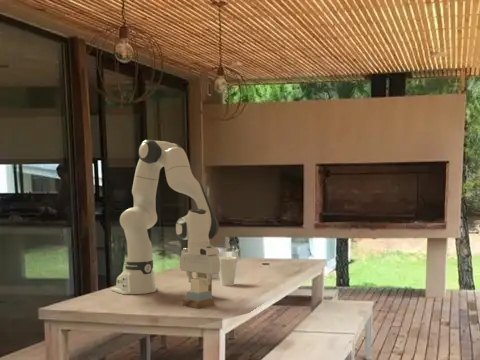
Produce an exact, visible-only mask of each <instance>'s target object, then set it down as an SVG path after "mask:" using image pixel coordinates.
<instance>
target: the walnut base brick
mask: <svg viewBox="0 0 480 360" xmlns="http://www.w3.org/2000/svg"><path fill="white" fill-rule="evenodd" d="M182 306H183V307H186V308H187V307H188V308H193V309H203V308H207V307H210V306H215V298H213V297H211V299H208V300H204V301H193V300H187V298H184V299H182Z"/></svg>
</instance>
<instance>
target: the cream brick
mask: <svg viewBox="0 0 480 360" xmlns="http://www.w3.org/2000/svg"><path fill="white" fill-rule="evenodd" d="M193 278H194V277H193ZM205 280H206V278H194V279H191V283H190V291H191V292H196V293H202V292H207V291H208V285H205Z"/></svg>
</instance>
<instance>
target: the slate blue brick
mask: <svg viewBox="0 0 480 360" xmlns="http://www.w3.org/2000/svg"><path fill="white" fill-rule="evenodd" d="M211 298H212V297H211V291H207V292H202V293H196V292H191V290H190V291H186V299H187V300H193V301H204V300H208V299H211Z"/></svg>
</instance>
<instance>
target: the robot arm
mask: <svg viewBox="0 0 480 360" xmlns="http://www.w3.org/2000/svg"><path fill="white" fill-rule="evenodd" d="M138 147H139V148H138V157H139V159H138V161H137V165H136V167H135V171H134V172H135V173H134V177H133V184H132V187H131V188H132V189H131V194H132V197H133V207H128V209H125V210H124V211H123V212H122V213H121V214H120V216H119V224H120V226H121V228H122V229H123V231H124V235H125V240H126V244H127V245H126V247H127V248H126V249H127V261H126V262H125V261H124V266H125V269H124V270H123V271H122V272H121V273H120V274H119V275H118V276H117V277H116V283H115V285H116V286H114V287H111V289H110V291H112V292H115V293H118V294H122V295H141V294H142V295H143V294H149V293H154V292H156V291H157V289H158V286H157V285H156V277H155V272H154V270H153V268H154V260H153V249H152V248H153V243H152V241H151V240H150V237H149V232H148V230H149V229H152V227H154V226H155V224H156V223H157V222H158V214H157V210H156V208H157V207H156V204H157V203H156V201H157V199H156V198H157V197H156V196H157V191H158V190H157V189H158V183H159V179H160V172H161V170H162V168H163V167H164V172H165V173H164V174H165V177H166V178H165V179H166V182H167V184H168V186H169V187H170V189H172V190H173V191H175V192H177V193H180V194H183V195H186V196H188V197H189V198H191V199H193V200H194V202H195V204H196V206H197V208H191V209H189V210H188V212H187V214H186V215H184V216H183V217H179V218H178V220H177V221H176V222H175V224H174V225H175V226H174V227H175V229H174V230H175V236H177V238H179V239H180V240H183V241H184V240H185V241H187V247H184V248H183V249H181V251H180V258H179V269H180V271H184V272H185V273H186V276H187V278H188V283H190V284H191V279H194V277H193V275H192V274H193V273H196V272H197V273H204V274H206V276H207V279H206V280H205V285H210V280H211V278H212V279H213V275H219V271H220V261H219V257H220V256H219V253H220V249H219V248H217V247H215V246H213V245H212V244H210V242H211V241H210V240H213V239H214V238H215V237H216V236H217V234H218V233H219V230H220V225H219V222H218V220H217V218H216V216H215V215H214V212H213V210H212V208H211V207H212V206H211V205H210V204H211V203H210V202H209V200H208V199H209V198H208V197H207V194H206V192H205V188H203V185H202V183H201V182H199V181H198V180H197V179H196V178H195V177H194V174H193V173H192V169H191V165H190V161H189V159H188V158H189V157H188V155H187V153H186V151H185V150H184V148H183V146H181V145H179V144H177V143H172V142H169V141H165V140H163V141H161V140H154V139H145V140H143V141H142V142H141V143H140V145H139V146H138Z"/></svg>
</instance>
